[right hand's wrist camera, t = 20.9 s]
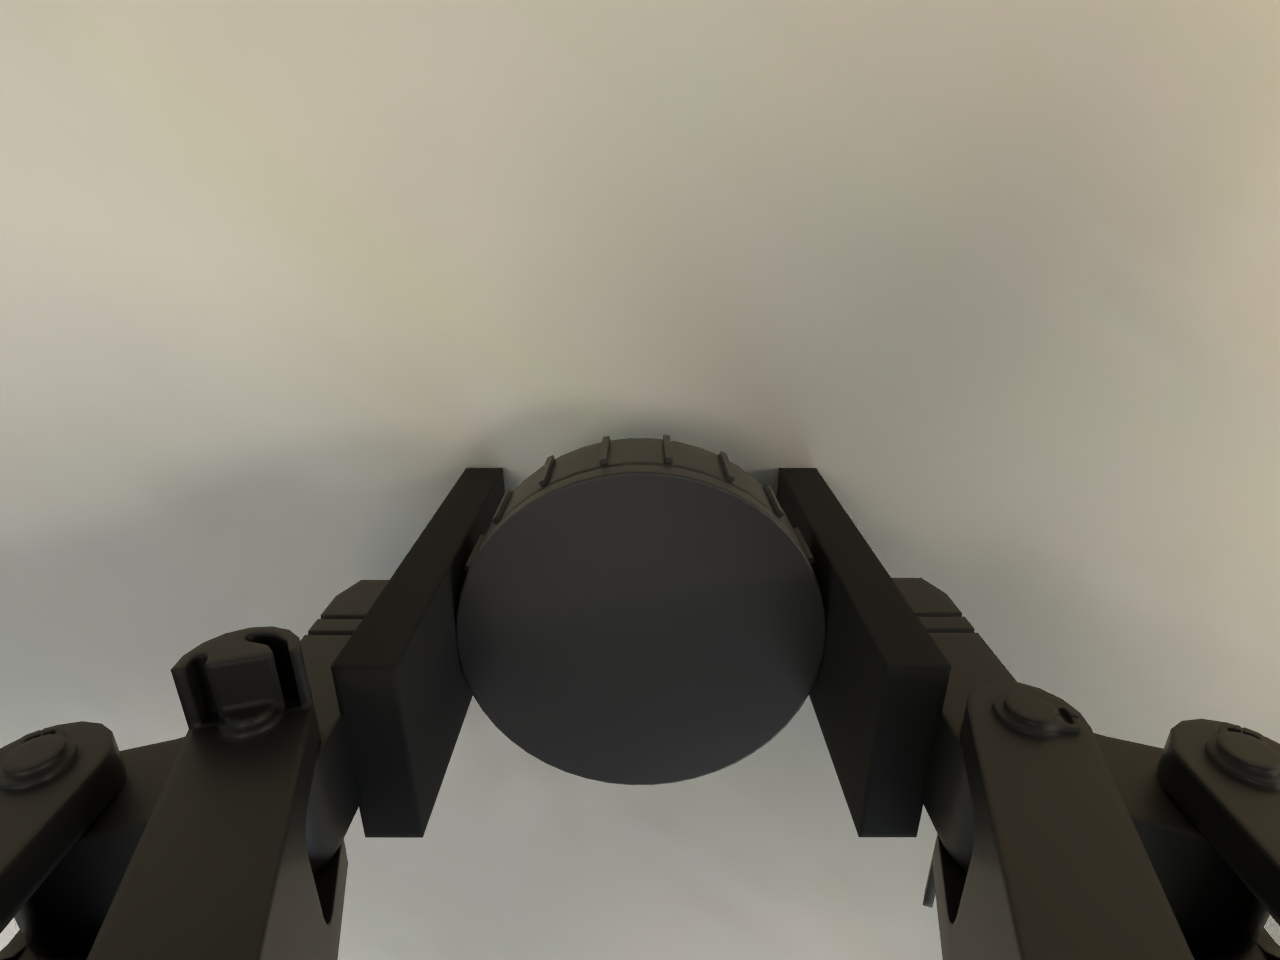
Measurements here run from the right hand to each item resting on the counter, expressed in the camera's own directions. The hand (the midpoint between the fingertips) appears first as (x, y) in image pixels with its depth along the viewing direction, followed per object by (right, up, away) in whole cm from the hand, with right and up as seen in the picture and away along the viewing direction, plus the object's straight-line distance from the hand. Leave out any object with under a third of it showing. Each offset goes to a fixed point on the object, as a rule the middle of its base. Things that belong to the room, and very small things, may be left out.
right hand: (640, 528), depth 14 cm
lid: (0, -1, -4) cm, 4 cm away
